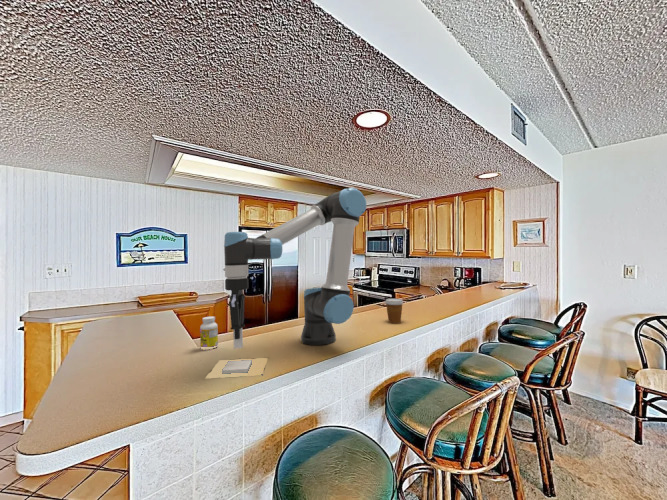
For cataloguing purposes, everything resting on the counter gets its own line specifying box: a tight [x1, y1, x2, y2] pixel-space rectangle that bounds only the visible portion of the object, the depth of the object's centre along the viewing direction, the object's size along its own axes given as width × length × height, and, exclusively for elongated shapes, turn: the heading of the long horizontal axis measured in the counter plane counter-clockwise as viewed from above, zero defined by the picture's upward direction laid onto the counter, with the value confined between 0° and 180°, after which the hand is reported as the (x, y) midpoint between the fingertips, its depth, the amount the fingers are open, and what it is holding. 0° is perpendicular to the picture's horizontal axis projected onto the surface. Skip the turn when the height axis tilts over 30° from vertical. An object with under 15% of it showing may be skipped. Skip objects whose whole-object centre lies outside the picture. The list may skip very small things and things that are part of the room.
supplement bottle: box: [199, 315, 219, 348], centre depth 124 cm, size 7×7×13 cm
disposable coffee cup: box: [384, 298, 404, 324], centre depth 162 cm, size 10×10×12 cm
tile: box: [222, 360, 252, 374], centre depth 100 cm, size 8×2×8 cm
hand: (238, 347), depth 102 cm, fingers closed
